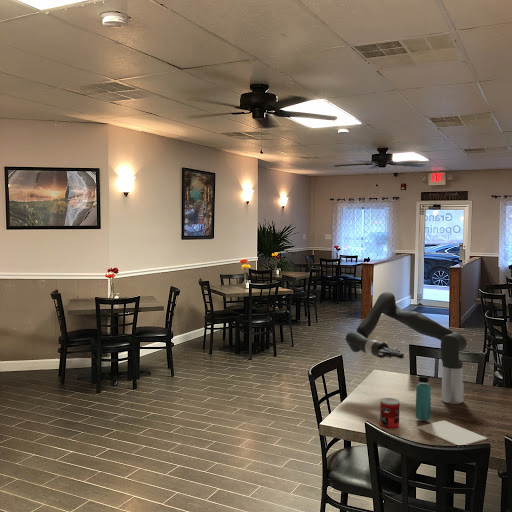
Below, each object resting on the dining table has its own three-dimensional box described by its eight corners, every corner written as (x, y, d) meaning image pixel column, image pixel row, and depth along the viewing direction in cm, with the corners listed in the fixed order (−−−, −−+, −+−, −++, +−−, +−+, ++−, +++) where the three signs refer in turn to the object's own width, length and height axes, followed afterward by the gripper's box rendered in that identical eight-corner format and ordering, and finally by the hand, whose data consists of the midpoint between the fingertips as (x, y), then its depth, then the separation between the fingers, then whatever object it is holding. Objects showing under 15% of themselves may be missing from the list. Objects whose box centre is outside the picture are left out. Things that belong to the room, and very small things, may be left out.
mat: (417, 427, 225) (417, 426, 225) (443, 421, 232) (443, 420, 232) (459, 447, 205) (460, 445, 205) (487, 439, 213) (487, 438, 213)
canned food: (377, 422, 230) (377, 397, 230) (395, 422, 231) (395, 397, 230) (383, 429, 223) (383, 403, 222) (401, 429, 223) (402, 403, 223)
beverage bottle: (428, 425, 228) (429, 379, 227) (413, 422, 231) (414, 376, 230) (432, 420, 233) (433, 375, 232) (417, 417, 237) (418, 373, 236)
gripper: (386, 354, 261) (412, 362, 246) (365, 357, 254) (391, 366, 239) (387, 339, 260) (413, 346, 245) (366, 342, 254) (391, 349, 239)
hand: (402, 356), depth 242 cm, fingers closed
